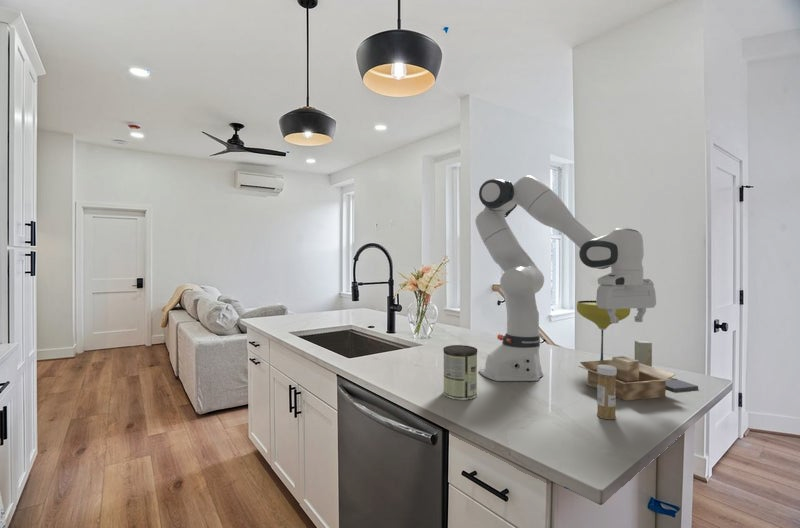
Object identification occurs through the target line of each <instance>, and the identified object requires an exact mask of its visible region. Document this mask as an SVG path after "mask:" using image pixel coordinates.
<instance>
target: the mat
mask: <svg viewBox="0 0 800 528" xmlns="http://www.w3.org/2000/svg"><path fill="white" fill-rule="evenodd" d="M669 379H677V380H670V381H666V390H668V391H671V392H673V391H676V392H681V391H682V392H683V391H684V390H686V391H692V390H693V389H695V390H699V385H697V384H694V383H690V382H687V381H684V380H681V379H679V378H674V377H671V378H669ZM684 392H685V391H684Z"/></svg>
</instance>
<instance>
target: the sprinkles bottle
mask: <svg viewBox="0 0 800 528" xmlns="http://www.w3.org/2000/svg"><path fill="white" fill-rule="evenodd" d="M597 372H598V384H597V388H596V389H597V390H596V391H597V393H596V394H597V395H596V396H597V397H596V398H597V399H596V400H597V408H596V409H597V410H596V411H597V412H596V416H598V417H599V418H601V419H604V420H615V419H616V418H617V416H616V406H617V402H616V400H617V397H616V375H617V368H616V367H614V366H611V365H598V366H597Z"/></svg>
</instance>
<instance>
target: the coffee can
mask: <svg viewBox="0 0 800 528" xmlns="http://www.w3.org/2000/svg"><path fill="white" fill-rule="evenodd" d="M442 350H443V391H442V392H443V393H442V394H443V395H444V397H446V396H447V397H446V398H448V397H449V398H448V399H450V398H452V399H451V400H455V399H458V400H457V401H469V400H468V399H470V400H473V399H476V398H477V396H478V394H477V391H478V389H477V388H478V387H477V386H478V382H477V381H478V380H477V379H478V378H477V377H478V348H476V347H475V346H471V345H464V344H453V345H447V346H444V347H443V349H442ZM472 398H473V399H472Z"/></svg>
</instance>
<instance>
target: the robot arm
mask: <svg viewBox="0 0 800 528" xmlns="http://www.w3.org/2000/svg"><path fill="white" fill-rule="evenodd" d="M478 199H479V200H480V203H482V205H483V206H484V207H485V208H483V210H482V211H480V212H479V213H478V214H477V215H476V218H475V226H476V229H477V231H478V234H479V236H480V239H481V240H482V243H483V244H484V246H485V247H486V249H487V250H488V251H487V252H488V253H489V255H490V257H491V258H492V260H493V262H494V263H496V264H497V266H499V267H500V269H501V270H502V271H503V273H502V274H501V276H500V289H501V290H502V292H503V297H504V302H505V309H506V333H505V334H504V335H502V334H501V333H498V334H497V340H499V341H502V343H501V344H500V345H498V346H497V347H496V348H495V349H494V350H492V352H490V353H489V354H487V356H486V360H485V366H483V367H479V369H478V370H479V371H478V372H479V374H481V375H482V376H484V377H485V378H487V379H489V380H493V381H496V382H528V381H530V382H534V381H535V382H536V381H540V378H541V377H543V376H544V374H543V373H544V372H543V370H542V366H541V360H540V359H541V358H540V345H541V340H540V339H541V338H540V337H541V336H540V333H539V332H540V330H539V329H540V328H539V327H540V326H539V324H540V323H539V322H540V317H539V316H540V312H539V311H538V307H537V301H536V294H537V293H538V292H540V291H541V289H542V288H543V286H544V284H545V283H544V282H545V276H544V273H543V272H542V271H541V270H540V268H539V267H537V265H536V264H535V262H534V261H533V260H532V258H531V257H530V256H529V255H528V253H527V252H526V251H525V249H523V247H522V246H521V244H520V242H519V241H518V238H517V237H516V235H515V234H514V232H513V230H512V229H511V227H510V226H509V224H508V222H507V220H506V218H507V217H509V215H510V214H511V213H512V212H513V211H514V210H515V209H516V207H518V206H519V207H521V208H522V209H523V210H524V211H525V212H526V213H528V214H529V215H530V216H531V217H532V218H533V219H534V220H535V221H537V222H539V223H540V224H542V225H543V226H547V227H549V228H552V229H554V230H557V231H558V232H561V233H562V234H563V235H564V236H566V237H567V238H568V239H569V240H570V241H571V242H572V243H574V244H575V245H576V246H577V247H578V248H579V251H578V252H579V254H578V256H579V259H580V261H581V263H583V264H584V265H585V266H586V267H588V268H592V269H598V270H605V269H608V268H610V267H611V271H610V273H608V274H606V275H603V276H600V277H599V278H597V285H598V286H597V290H596V297H595V298H596V300H595V301H596V303H597V306H598V307H599V308H600V309H607V312H608V314H609V316H610V322H611V323H612V324H619V321H618V318H616V315H615V313H616V309H630V310H631V309H636V311H638V312H637V314H636V315H634V322H636V323H642V322H644V321H643V320H644V316H645V314H646V313H647V309H650V308H652V309H653V308H655V307H656V305H657V296H656V290H655V286H654V282H653V281H652V280H651V279H650V278H645V279H644V266H643V258H644V253H645V252H644V240H643V235H642V234H641V233H640V232H639V231H638V230H636V229H632V228H626V227H625V228H624V227H616V228H614V229H613V230H611V231H610V232H608V233H606V234H604V235H602V236H600V237H597V236H595V235H594V234H593V233H592V232H590V230H588V229H587V228H586V227H585V226H584V225H582V224H581V222H579V221H578V220H577V219H576V218H575V217H574V215H573V214H572V212H571V211H570V210H569V208H568V207H567V206H566V204H565V203H564V201H563V200H562V199H561V198H560V197H559V195H557V194H556V192H555V191H553V190H552V189H551V188H550V187H549V186H548V185H546V184H545V183H543V182H542V181H541V180H539V179H537V178H536V177H534V176H532V175H525V176H522V177H520V178H519V179H518V180H517V181H516V182H515V183H512V182H511V181H509V180H504V179H497V178H491V179H487V180H486V181H484V182H483V183H482V185H481V186H480V187H479V191H478Z"/></svg>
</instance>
